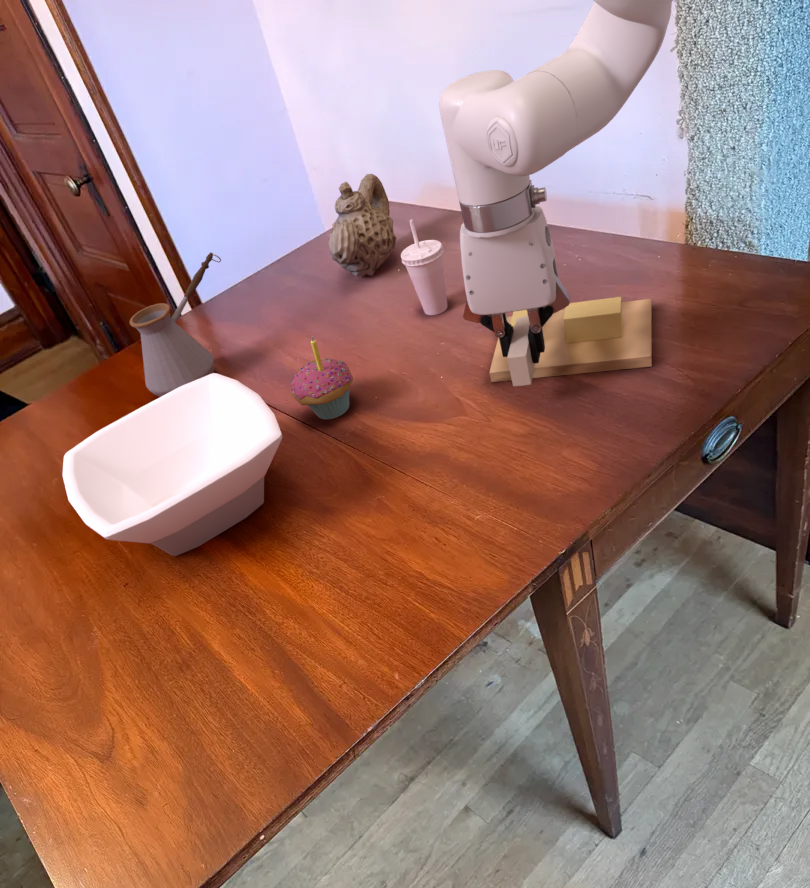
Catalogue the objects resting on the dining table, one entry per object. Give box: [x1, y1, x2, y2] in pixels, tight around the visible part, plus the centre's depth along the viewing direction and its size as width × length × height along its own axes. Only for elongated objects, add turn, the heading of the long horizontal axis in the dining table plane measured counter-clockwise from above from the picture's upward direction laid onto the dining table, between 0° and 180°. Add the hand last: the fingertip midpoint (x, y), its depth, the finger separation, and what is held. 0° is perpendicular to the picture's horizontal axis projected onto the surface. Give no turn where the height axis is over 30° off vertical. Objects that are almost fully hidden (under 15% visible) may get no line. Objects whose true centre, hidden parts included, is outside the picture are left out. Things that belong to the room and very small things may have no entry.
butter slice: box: [511, 310, 527, 329], centre depth 99 cm, size 2×4×4 cm, turn 166°
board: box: [488, 298, 653, 383], centre depth 99 cm, size 20×14×2 cm
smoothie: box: [400, 218, 449, 316], centre depth 112 cm, size 6×6×14 cm
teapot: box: [327, 173, 397, 278], centre depth 130 cm, size 21×12×15 cm, turn 159°
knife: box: [507, 313, 535, 387], centre depth 94 cm, size 19×2×4 cm, turn 166°
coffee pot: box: [129, 252, 222, 397], centre depth 117 cm, size 21×12×15 cm, turn 145°
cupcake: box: [289, 335, 354, 421], centre depth 99 cm, size 9×8×12 cm
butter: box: [563, 296, 623, 343], centre depth 96 cm, size 7×4×4 cm, turn 76°
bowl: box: [61, 372, 284, 557], centre depth 91 cm, size 24×25×10 cm
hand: (525, 357), depth 91 cm, fingers closed on knife, 2 cm apart
